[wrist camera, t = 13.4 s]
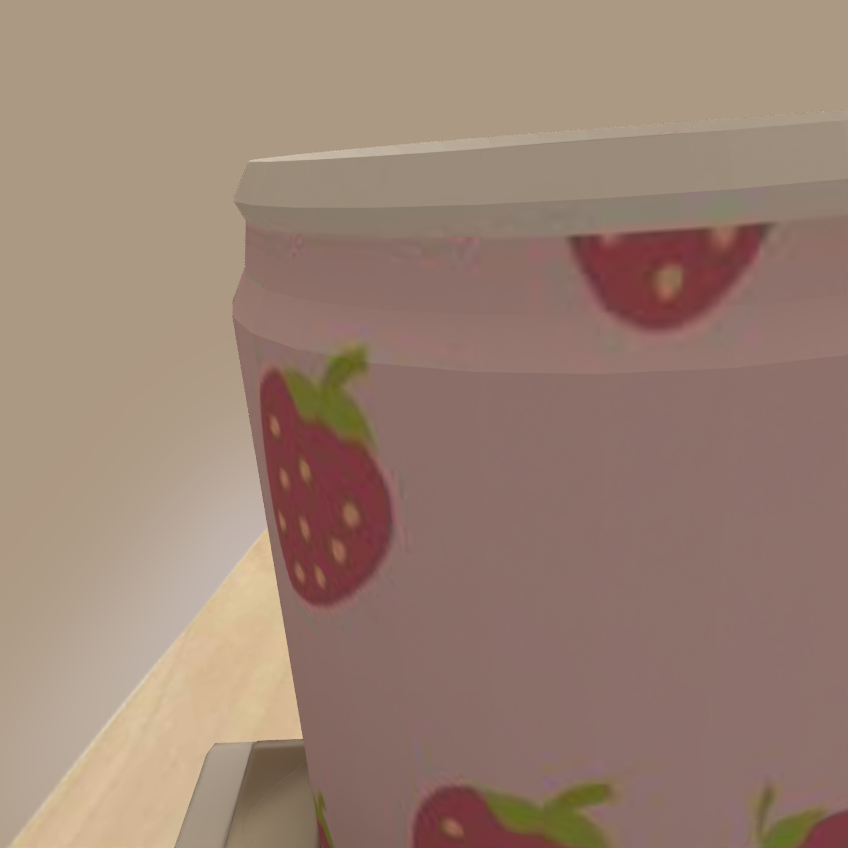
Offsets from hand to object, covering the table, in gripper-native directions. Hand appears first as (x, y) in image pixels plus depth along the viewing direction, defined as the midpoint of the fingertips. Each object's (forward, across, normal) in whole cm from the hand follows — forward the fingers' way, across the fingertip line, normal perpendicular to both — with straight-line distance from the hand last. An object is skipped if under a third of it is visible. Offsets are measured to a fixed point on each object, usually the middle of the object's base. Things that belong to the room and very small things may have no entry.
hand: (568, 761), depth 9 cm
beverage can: (-1, 0, +8) cm, 8 cm away
